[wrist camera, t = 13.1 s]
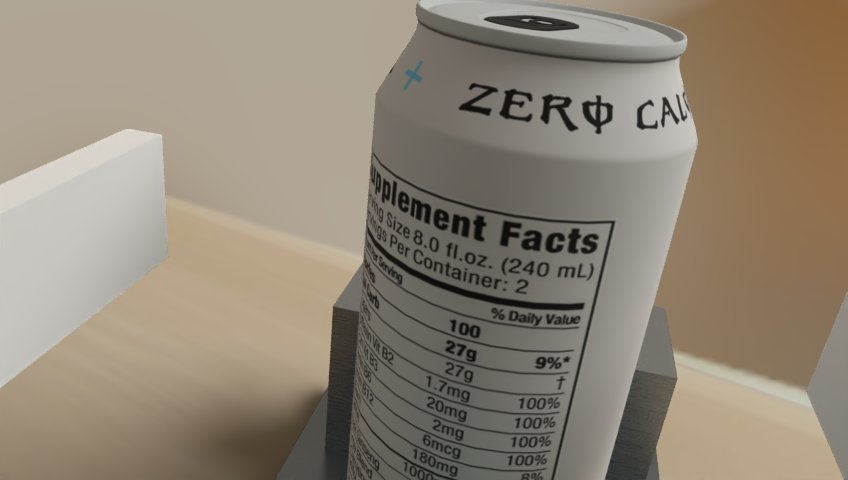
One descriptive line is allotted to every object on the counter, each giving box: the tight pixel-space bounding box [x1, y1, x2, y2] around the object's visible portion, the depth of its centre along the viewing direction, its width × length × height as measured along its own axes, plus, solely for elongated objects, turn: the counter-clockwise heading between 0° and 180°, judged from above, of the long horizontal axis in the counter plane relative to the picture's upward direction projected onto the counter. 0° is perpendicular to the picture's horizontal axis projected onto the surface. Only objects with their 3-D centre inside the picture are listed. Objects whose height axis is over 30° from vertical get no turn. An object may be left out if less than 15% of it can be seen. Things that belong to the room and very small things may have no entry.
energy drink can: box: [347, 0, 698, 480], centre depth 16 cm, size 6×6×15 cm
